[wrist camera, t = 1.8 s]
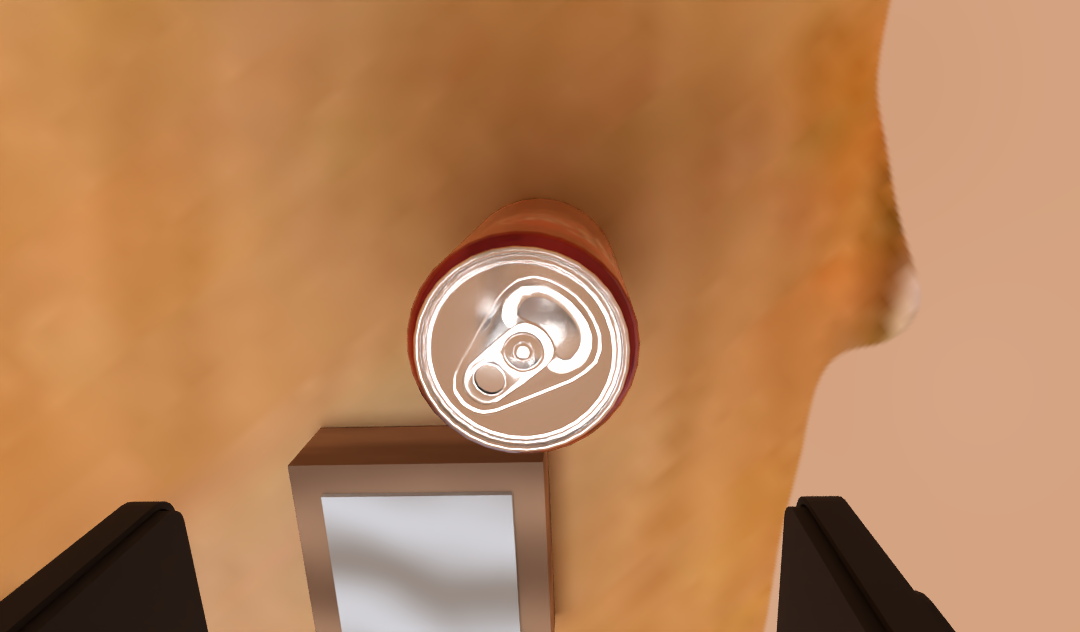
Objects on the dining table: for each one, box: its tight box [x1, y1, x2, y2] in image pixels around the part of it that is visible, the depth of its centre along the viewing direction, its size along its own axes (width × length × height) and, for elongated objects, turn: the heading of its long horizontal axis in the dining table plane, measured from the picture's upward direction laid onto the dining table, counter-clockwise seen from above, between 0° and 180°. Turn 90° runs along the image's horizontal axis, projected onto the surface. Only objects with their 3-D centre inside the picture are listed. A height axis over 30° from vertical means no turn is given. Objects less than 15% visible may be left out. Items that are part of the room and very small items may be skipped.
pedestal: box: [288, 426, 555, 632], centre depth 32 cm, size 12×12×4 cm
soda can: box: [407, 199, 640, 454], centre depth 25 cm, size 7×7×12 cm
